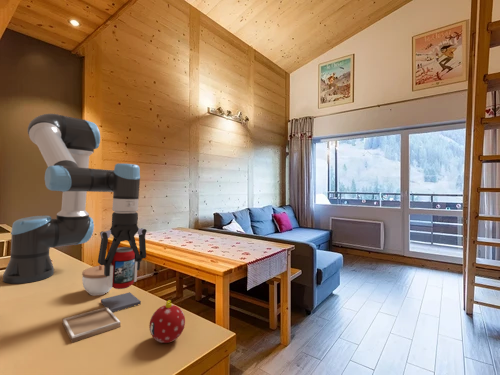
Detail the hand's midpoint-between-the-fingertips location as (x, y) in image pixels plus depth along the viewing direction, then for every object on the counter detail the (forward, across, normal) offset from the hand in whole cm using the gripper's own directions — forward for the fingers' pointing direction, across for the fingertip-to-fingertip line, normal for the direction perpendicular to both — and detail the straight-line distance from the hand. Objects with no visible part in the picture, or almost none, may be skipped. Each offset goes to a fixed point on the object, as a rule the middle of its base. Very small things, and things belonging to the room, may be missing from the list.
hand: (122, 282), depth 84 cm
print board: (+7, -10, -8) cm, 15 cm away
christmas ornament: (+7, +2, -27) cm, 28 cm away
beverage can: (+1, 0, 0) cm, 1 cm away
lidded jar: (+7, -2, +14) cm, 16 cm away
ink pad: (+7, 0, 0) cm, 7 cm away
